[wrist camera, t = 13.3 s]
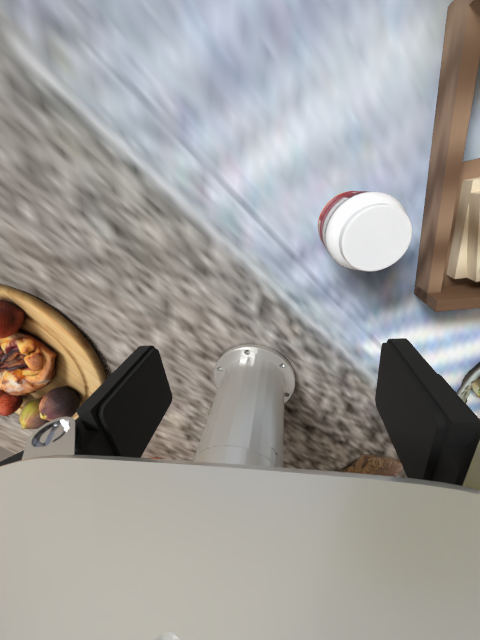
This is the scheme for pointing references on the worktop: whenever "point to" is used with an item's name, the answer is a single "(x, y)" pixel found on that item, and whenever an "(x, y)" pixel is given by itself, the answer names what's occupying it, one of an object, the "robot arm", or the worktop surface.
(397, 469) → the wooden fragment
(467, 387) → the salad plate
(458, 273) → the birch offcut
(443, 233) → the walnut rack
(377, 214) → the pill bottle
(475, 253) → the ash offcut
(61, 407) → the wooden plate with food
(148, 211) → the worktop surface
